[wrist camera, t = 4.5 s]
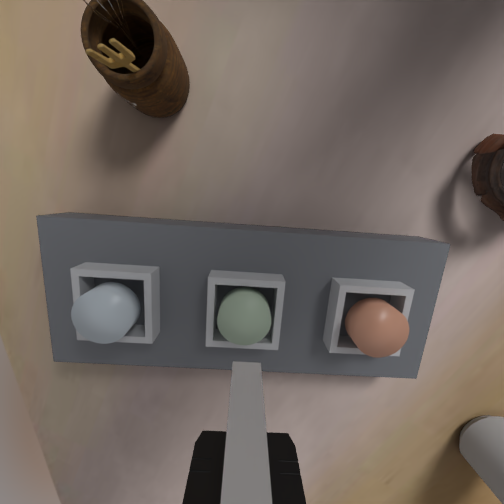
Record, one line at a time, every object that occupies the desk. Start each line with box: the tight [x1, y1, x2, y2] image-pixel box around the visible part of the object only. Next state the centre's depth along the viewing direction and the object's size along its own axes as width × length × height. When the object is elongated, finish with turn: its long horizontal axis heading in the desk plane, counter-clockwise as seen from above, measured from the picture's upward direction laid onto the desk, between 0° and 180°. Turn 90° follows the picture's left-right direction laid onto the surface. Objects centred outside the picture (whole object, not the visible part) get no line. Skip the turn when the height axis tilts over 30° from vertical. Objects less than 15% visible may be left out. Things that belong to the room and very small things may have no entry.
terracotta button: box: [345, 298, 409, 358], centre depth 21 cm, size 4×4×2 cm
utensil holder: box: [81, 0, 189, 118], centre depth 17 cm, size 6×6×12 cm
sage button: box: [217, 287, 271, 345], centre depth 21 cm, size 4×4×2 cm
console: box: [36, 212, 450, 379], centre depth 24 cm, size 14×36×6 cm, turn 86°
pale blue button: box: [71, 282, 141, 344], centre depth 20 cm, size 4×4×2 cm
